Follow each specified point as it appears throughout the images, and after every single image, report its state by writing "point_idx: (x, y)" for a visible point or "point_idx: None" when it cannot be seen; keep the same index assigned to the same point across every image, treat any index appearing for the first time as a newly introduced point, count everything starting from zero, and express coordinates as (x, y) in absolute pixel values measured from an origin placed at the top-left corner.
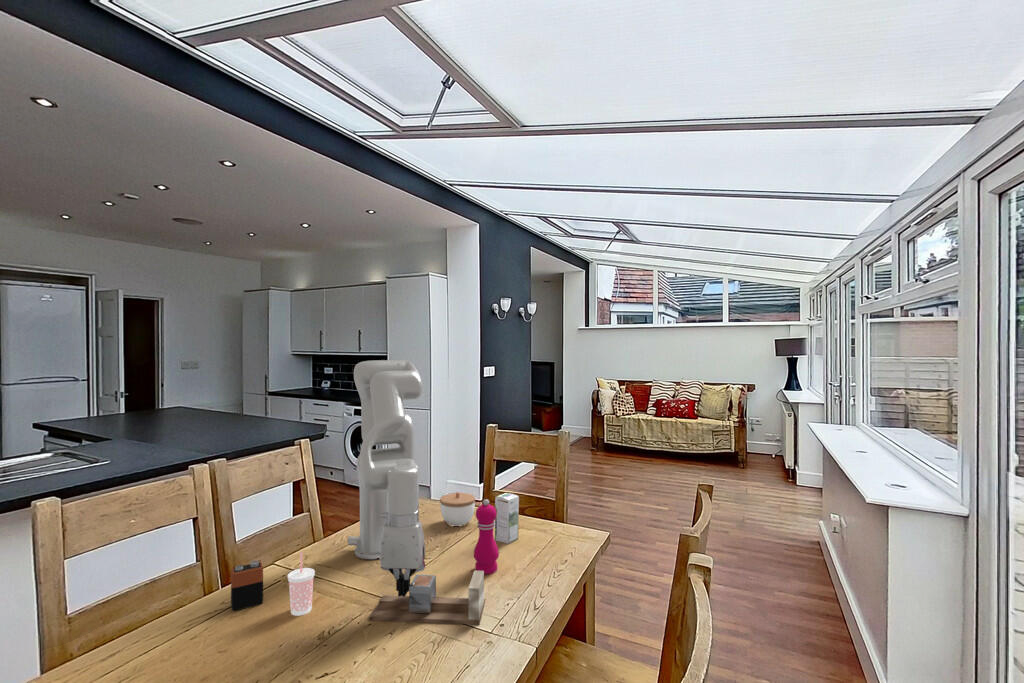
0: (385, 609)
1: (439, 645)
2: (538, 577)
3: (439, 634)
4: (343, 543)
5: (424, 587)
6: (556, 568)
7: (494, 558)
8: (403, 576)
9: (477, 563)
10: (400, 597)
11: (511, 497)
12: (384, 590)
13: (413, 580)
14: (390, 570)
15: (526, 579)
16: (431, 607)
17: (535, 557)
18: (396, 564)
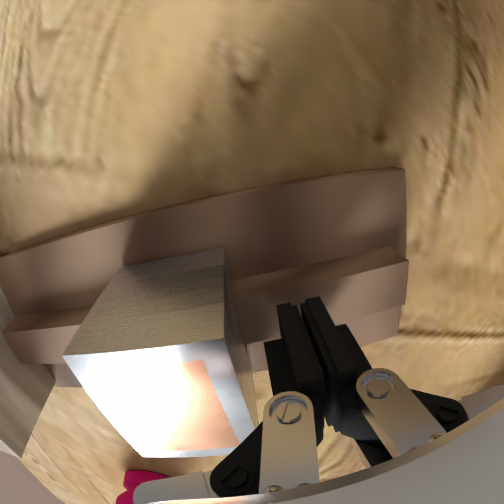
0: (359, 245)
1: (14, 96)
2: (41, 451)
3: (35, 157)
4: None
5: (97, 350)
6: (44, 466)
7: (116, 500)
8: (322, 412)
9: None
10: None
11: None
12: (398, 364)
13: (240, 409)
14: (451, 406)
15: (51, 449)
16: None
17: (98, 492)
18: (447, 491)
